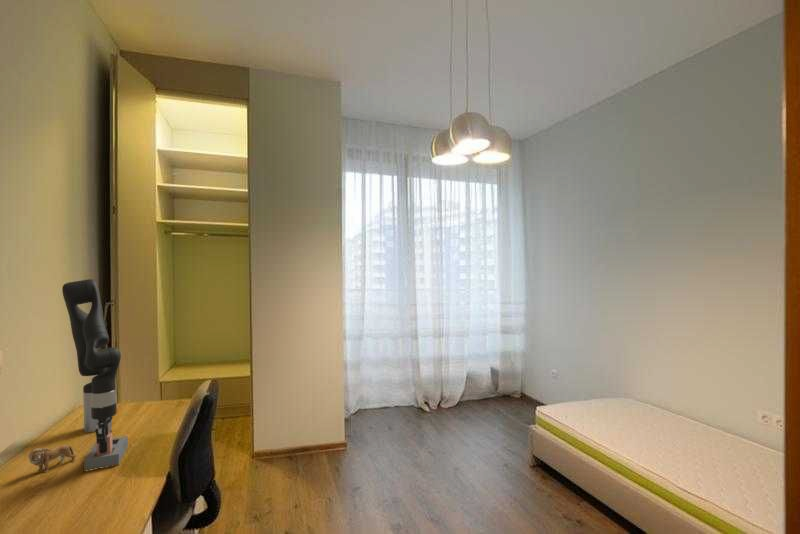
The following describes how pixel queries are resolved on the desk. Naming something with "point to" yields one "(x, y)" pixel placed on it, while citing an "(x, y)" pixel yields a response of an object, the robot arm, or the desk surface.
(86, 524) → the desk surface
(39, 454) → the lion figurine
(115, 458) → the pocket board
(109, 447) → the peg
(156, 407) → the desk surface
